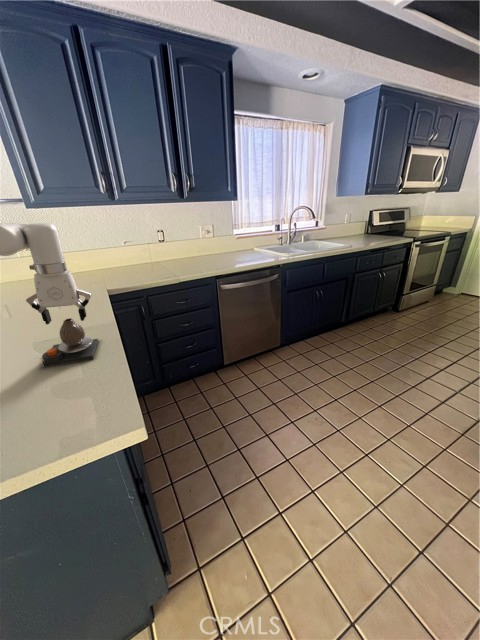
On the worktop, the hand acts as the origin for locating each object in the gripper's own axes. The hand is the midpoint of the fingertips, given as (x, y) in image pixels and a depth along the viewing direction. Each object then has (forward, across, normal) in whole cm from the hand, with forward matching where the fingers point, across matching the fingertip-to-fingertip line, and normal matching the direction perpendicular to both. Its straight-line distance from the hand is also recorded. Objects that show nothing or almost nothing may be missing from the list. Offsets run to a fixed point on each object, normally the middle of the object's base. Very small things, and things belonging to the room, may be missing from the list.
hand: (66, 320), depth 85 cm
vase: (+9, +1, 0) cm, 9 cm away
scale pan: (+9, +1, 0) cm, 9 cm away
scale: (+12, -1, 0) cm, 12 cm away
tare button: (+10, -5, -3) cm, 11 cm away
